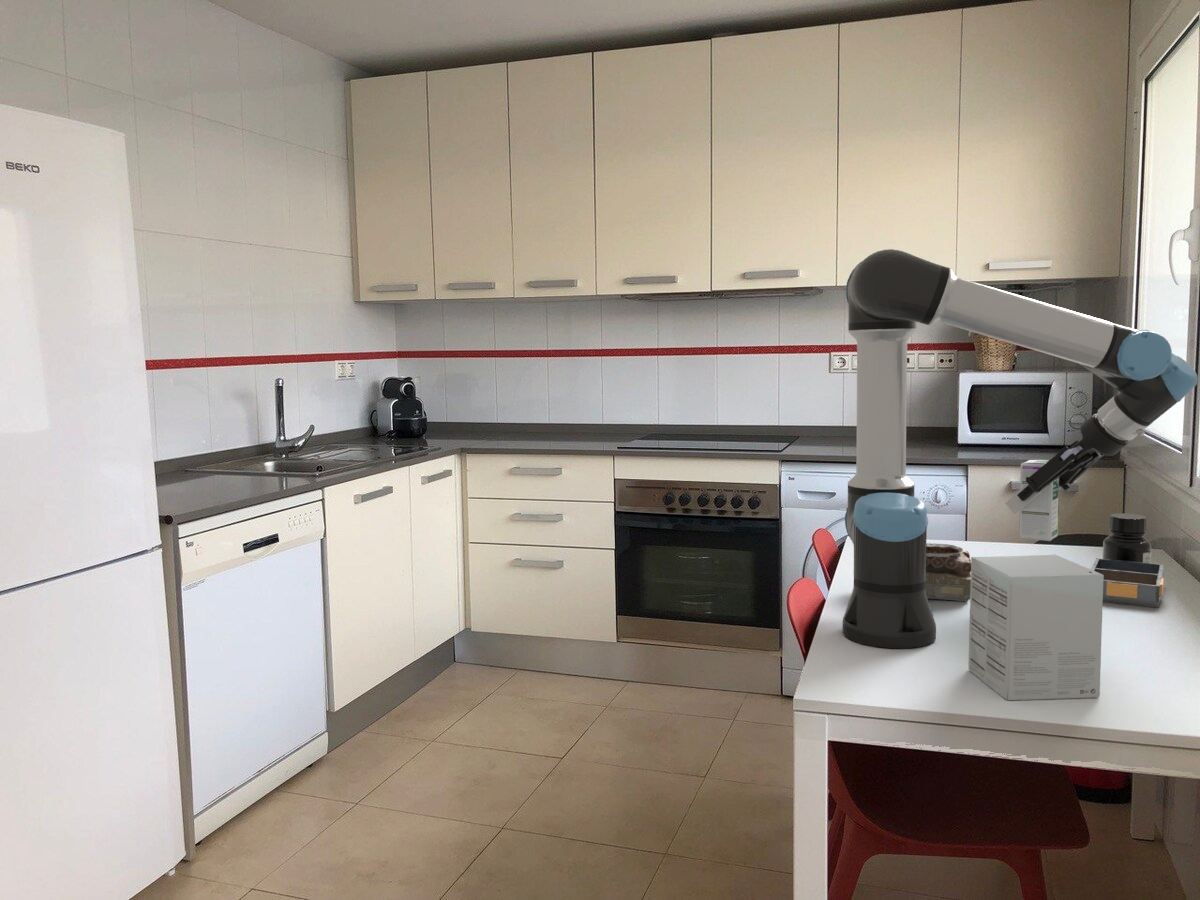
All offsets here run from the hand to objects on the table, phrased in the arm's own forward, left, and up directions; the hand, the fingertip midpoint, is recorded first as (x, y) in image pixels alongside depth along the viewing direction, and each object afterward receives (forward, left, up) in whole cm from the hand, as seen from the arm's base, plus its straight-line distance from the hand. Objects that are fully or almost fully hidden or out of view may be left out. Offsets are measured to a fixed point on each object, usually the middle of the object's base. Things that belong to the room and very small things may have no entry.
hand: (1021, 506), depth 182 cm
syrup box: (-1, -3, -6) cm, 7 cm away
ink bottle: (+31, -16, -18) cm, 39 cm away
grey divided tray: (+13, -17, -18) cm, 28 cm away
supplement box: (-50, -9, -18) cm, 54 cm away
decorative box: (-10, +16, -18) cm, 26 cm away
